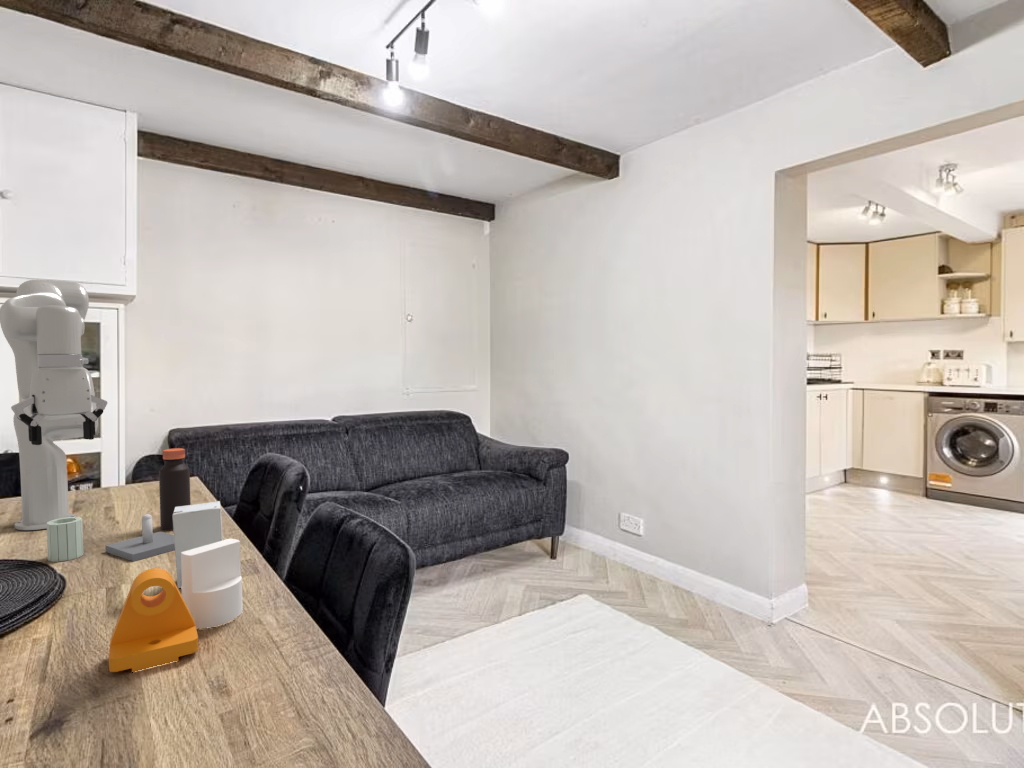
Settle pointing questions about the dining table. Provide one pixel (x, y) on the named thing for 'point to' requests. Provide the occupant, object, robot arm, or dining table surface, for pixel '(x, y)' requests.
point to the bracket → (152, 625)
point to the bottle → (173, 485)
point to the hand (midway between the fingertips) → (63, 441)
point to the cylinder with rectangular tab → (212, 582)
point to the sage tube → (64, 539)
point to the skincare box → (195, 529)
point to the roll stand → (143, 543)
